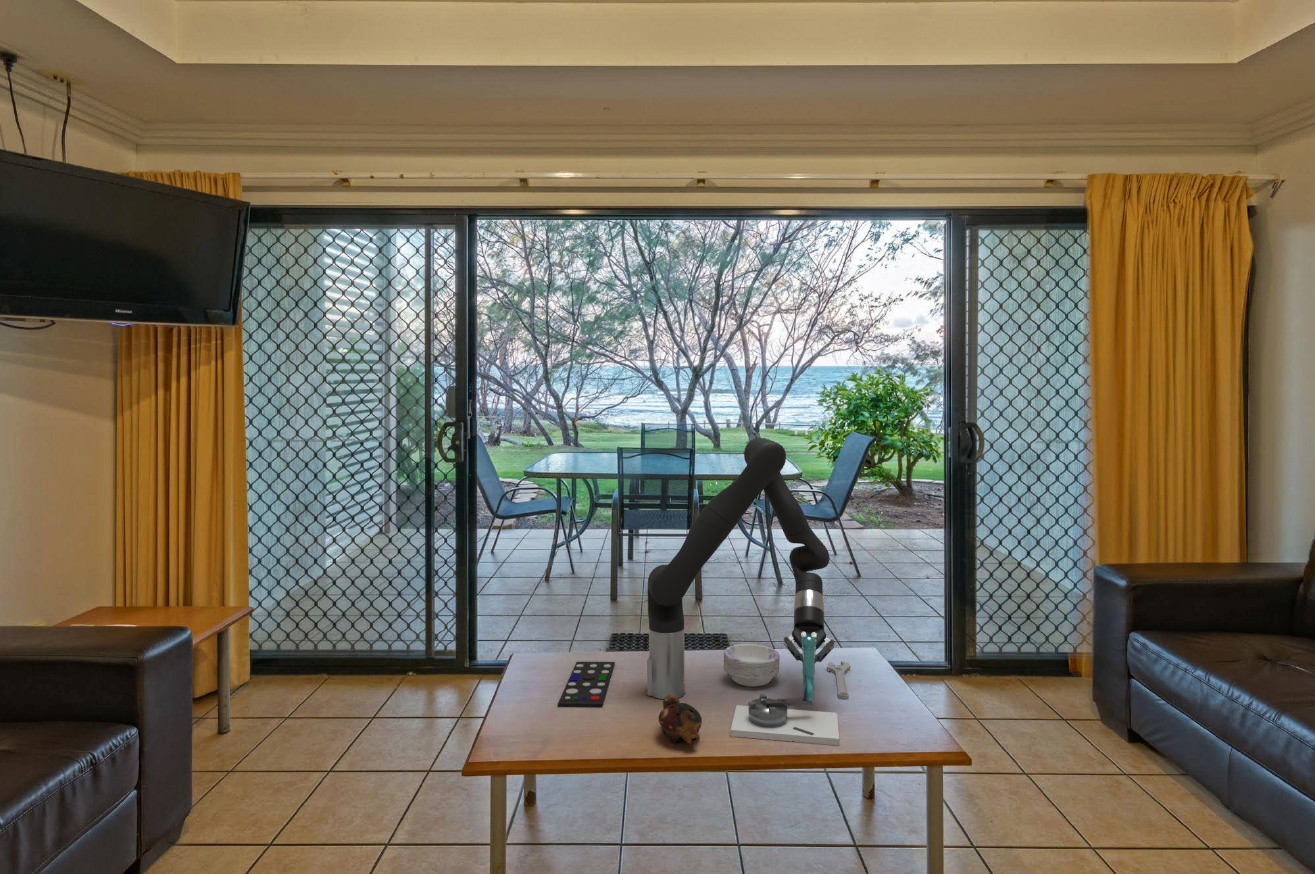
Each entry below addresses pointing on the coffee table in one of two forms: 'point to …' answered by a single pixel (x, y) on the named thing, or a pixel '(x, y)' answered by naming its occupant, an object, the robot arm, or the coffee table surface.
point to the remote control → (587, 685)
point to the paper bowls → (751, 664)
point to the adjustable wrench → (840, 678)
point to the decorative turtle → (679, 720)
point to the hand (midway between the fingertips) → (808, 676)
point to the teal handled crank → (776, 709)
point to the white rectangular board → (790, 727)
